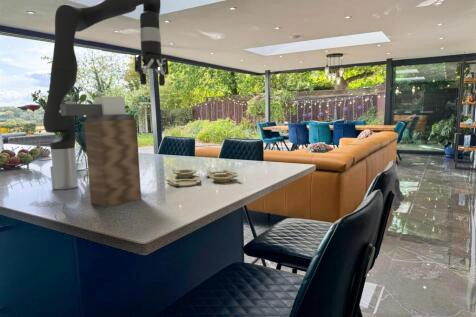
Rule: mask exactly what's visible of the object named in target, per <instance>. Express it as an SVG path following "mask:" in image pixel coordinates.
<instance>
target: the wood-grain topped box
mask: <svg viewBox="0 0 476 317" xmlns="http://www.w3.org/2000/svg"><path fill="white" fill-rule="evenodd" d="M83 123H84V133H85V134H84V135H85V146H86V157H87V158H86V159H87V168H88V169H87V170H88V181H89V182H88V185H89V193H90V203H91V204H94V205H97V206H100V207H103V208H109V207H113V206H117V205H120V204H121V205H122V204H125V203H129V202H133V201H136V200H142V191H141V190H142V189H141V175H140V171H141V170H140V158H139V157H140V156H139V143H138V142H139V141H138V124H137V119H135V114H134V113H133V114H132V113H131V114H129V113H125V114H120V115H85V120H84V122H83Z"/></svg>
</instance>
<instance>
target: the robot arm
mask: <svg viewBox="0 0 476 317" xmlns="http://www.w3.org/2000/svg"><path fill="white" fill-rule="evenodd" d="M161 3H162V2H161V0H102V1H100V2H98V3H96V4H95V5H91V6H84V7H83V6H82V7H78V6H76V5H72V4H67V3H64V4H61V5H59V6H58V7H57V9H56V12H55V16H54V44H53V56H52V61H51V68H50V79H49V80H50V82H49V89H48V95H47V101H46V105H45V108H44V112H43V119H42V120H43V123H42V124H43V127H44V130H45V131H46V132H48V133H49V134H50V133H52V134H55V133H58V134H59V133H60V135H59V137H58V138H57V139H54V140H52V141H51V142H50V155H51V164H52V165H51V166H50V177H51V178H50V179H51V180H50V181H51V188H52V189H55V190H69V189H74V188H75V189H76V188H77V187H79V183H78V182H79V181H78V170H77V169H78V168H77V158H76V148H75V147H76V146H75V144H76V121H75V120H76V119H75V117H74V116H75V115H68V116H61V109H60V104H62V103H63V101H64V99H65V98H66V96H68V94H69V93H70V91H72V89H73V88H74V86H75V85H76V83H77V82H76V81H77V76H78V69H79V68H78V66H79V65H78V60H77V57H76V52H75V37H76V32H77V33H79V32H82V31H84V30H87V29H89V28H90V27H93V26H94V25H96V24H98V23H100V22H103V21H105V20H106V21H107V20H109V19H112V18H115V17H116V18H117V17H118V16H119V17H121V16H123V15H127V14H129V13H132V12H134V11H136V9H137V7H138V6H140V5H143V7H142V13H140V16H139V24H140V27H139V28H140V33H139V36H140V37H139V38H140V53H141V55H140V54H137V55H134V72H135V73H138V74H139V80H140V83H141V85H144V86H145V85H146V84H147V74H146V73H147V71H148V70H154V71H155V72H157V74H158V85H159V86H160V87H161V86H163V87H164V85H166V84H165V83H166V80H165V79H166V77H165V76H167V75H169V71H170V70H169V62H168V59H167V58H161V57H162V56H161V55H162V37H161V30H160V13H161Z"/></svg>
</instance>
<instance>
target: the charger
mask: <svg viewBox="0 0 476 317" xmlns="http://www.w3.org/2000/svg"><path fill="white" fill-rule="evenodd" d="M60 111H61V116H68V115H73V116H86V115H120V114H126V104H125V96H124V97H123V96H97V97H96V96H95V97H93V104H92V103H90V104H88V103H86V104H85V103H84V104H83V103H63V104H62V103H61V104H60Z"/></svg>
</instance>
